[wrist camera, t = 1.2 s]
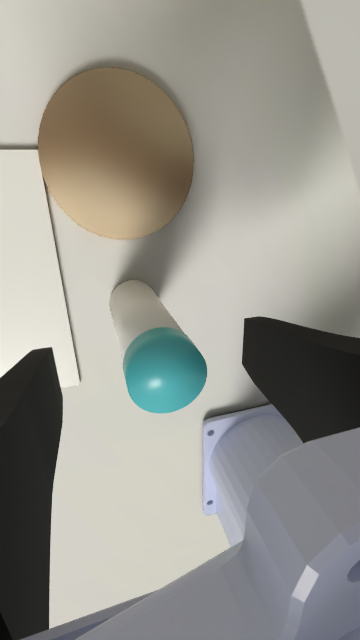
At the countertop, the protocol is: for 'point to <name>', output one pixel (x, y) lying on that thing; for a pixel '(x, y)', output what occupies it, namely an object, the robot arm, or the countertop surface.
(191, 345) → the marker
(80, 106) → the coaster
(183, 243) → the countertop surface
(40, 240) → the paper
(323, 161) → the countertop surface
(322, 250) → the countertop surface
